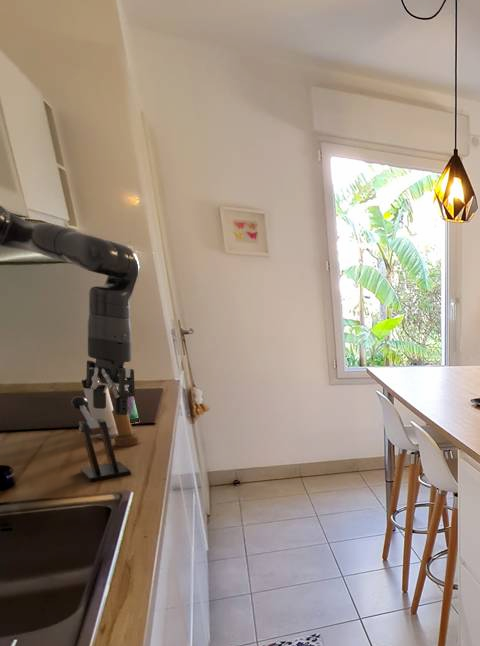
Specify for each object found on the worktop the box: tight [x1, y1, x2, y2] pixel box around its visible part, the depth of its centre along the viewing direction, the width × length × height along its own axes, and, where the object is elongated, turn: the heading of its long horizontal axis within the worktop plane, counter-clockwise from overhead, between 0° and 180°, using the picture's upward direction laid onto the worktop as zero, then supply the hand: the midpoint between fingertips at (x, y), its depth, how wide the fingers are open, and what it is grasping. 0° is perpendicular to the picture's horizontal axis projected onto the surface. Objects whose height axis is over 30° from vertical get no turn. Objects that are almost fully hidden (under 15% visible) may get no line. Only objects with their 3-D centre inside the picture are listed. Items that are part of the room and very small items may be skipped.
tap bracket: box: [78, 419, 132, 483], centre depth 149 cm, size 11×9×15 cm
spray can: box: [126, 379, 139, 425], centre depth 197 cm, size 6×6×20 cm
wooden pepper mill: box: [109, 389, 141, 448], centre depth 174 cm, size 7×6×18 cm
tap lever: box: [70, 395, 101, 436], centre depth 149 cm, size 14×4×4 cm, turn 50°
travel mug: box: [81, 378, 118, 440], centre depth 180 cm, size 6×7×20 cm
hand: (110, 411), depth 123 cm, fingers open, 8 cm apart
